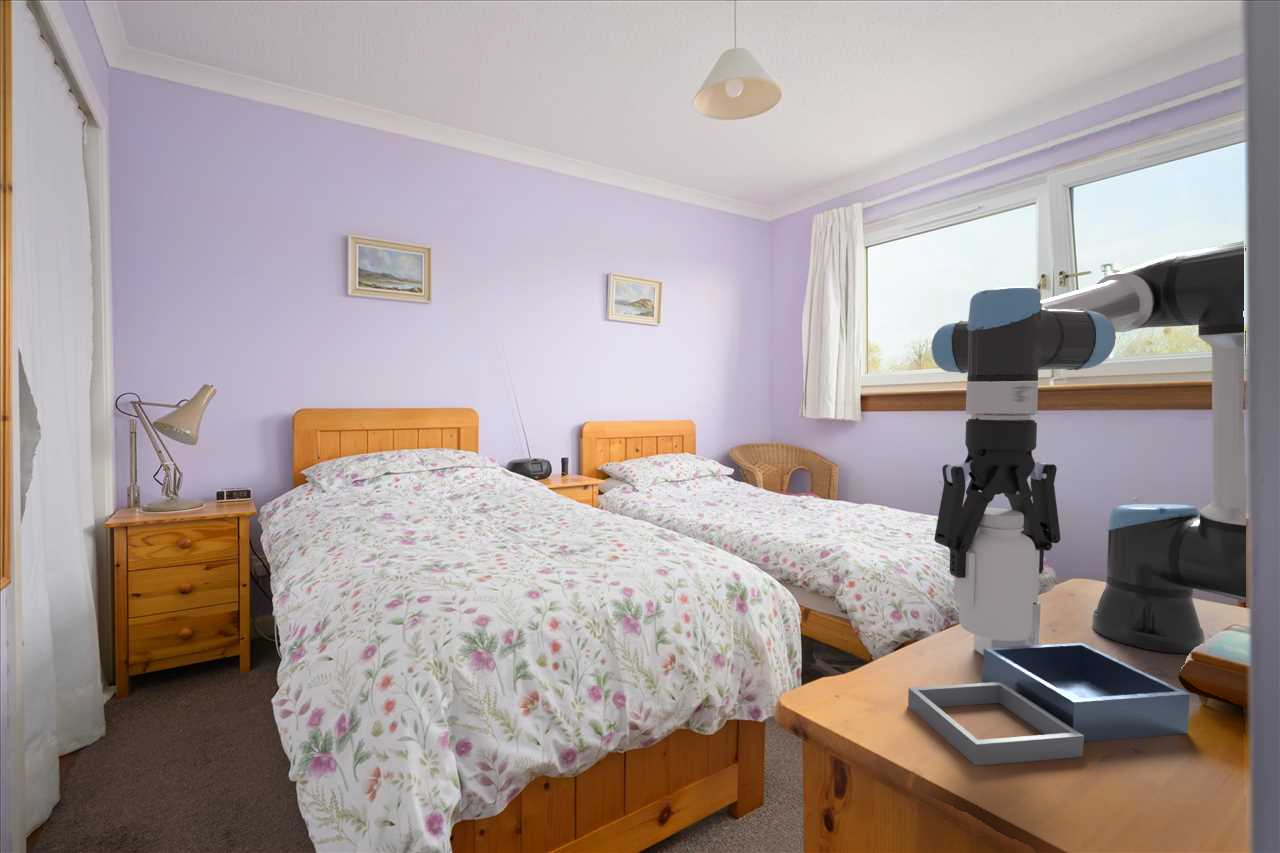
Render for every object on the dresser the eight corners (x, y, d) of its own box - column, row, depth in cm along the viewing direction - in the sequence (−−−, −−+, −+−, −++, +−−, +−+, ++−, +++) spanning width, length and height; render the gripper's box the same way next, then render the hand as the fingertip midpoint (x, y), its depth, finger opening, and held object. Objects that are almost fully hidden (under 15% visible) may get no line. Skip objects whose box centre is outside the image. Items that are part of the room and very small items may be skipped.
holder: (1000, 699, 86) (1000, 681, 86) (1083, 756, 72) (1083, 735, 72) (908, 705, 84) (908, 687, 84) (975, 765, 71) (976, 744, 70)
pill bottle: (1002, 648, 72) (1006, 520, 71) (944, 624, 80) (947, 508, 79) (1047, 636, 76) (1051, 514, 75) (987, 615, 83) (990, 503, 82)
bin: (1080, 675, 93) (1081, 642, 93) (1187, 733, 78) (1189, 694, 77) (982, 681, 91) (983, 648, 91) (1072, 742, 75) (1074, 702, 75)
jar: (1018, 671, 95) (1021, 593, 94) (965, 652, 101) (968, 580, 101) (1046, 657, 100) (1049, 583, 99) (994, 640, 106) (996, 571, 106)
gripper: (941, 420, 71) (936, 616, 72) (1103, 417, 74) (1096, 606, 75) (904, 417, 78) (900, 595, 80) (1052, 415, 81) (1047, 587, 83)
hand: (995, 600), depth 77 cm, fingers closed on pill bottle, 8 cm apart
